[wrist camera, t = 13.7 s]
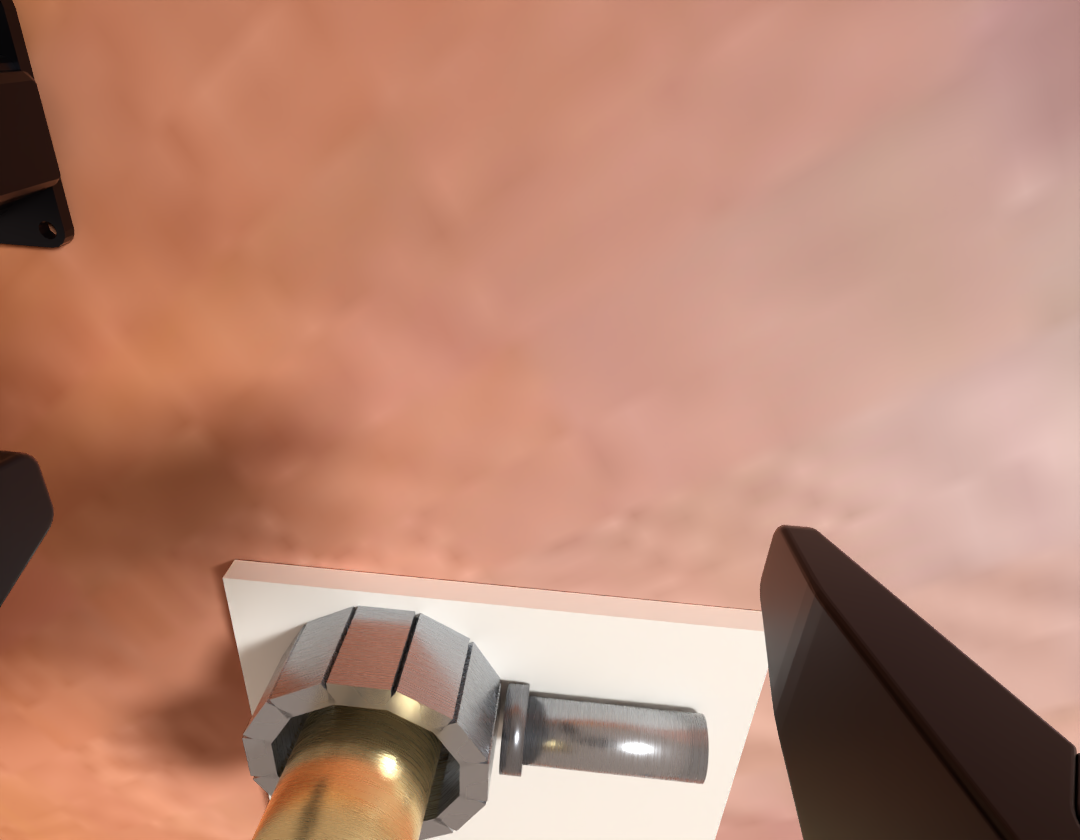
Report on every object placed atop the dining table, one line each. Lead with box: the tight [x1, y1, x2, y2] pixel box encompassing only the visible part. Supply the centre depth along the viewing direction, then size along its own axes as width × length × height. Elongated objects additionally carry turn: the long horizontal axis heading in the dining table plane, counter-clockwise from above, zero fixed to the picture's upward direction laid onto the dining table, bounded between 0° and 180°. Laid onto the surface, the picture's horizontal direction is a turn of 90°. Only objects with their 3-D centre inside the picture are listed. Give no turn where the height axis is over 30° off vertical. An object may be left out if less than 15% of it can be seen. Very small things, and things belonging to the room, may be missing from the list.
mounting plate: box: [223, 560, 768, 840], centre depth 31 cm, size 20×18×1 cm
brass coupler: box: [252, 705, 442, 840], centre depth 24 cm, size 5×5×10 cm
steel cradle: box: [242, 606, 709, 840], centre depth 29 cm, size 16×16×4 cm
